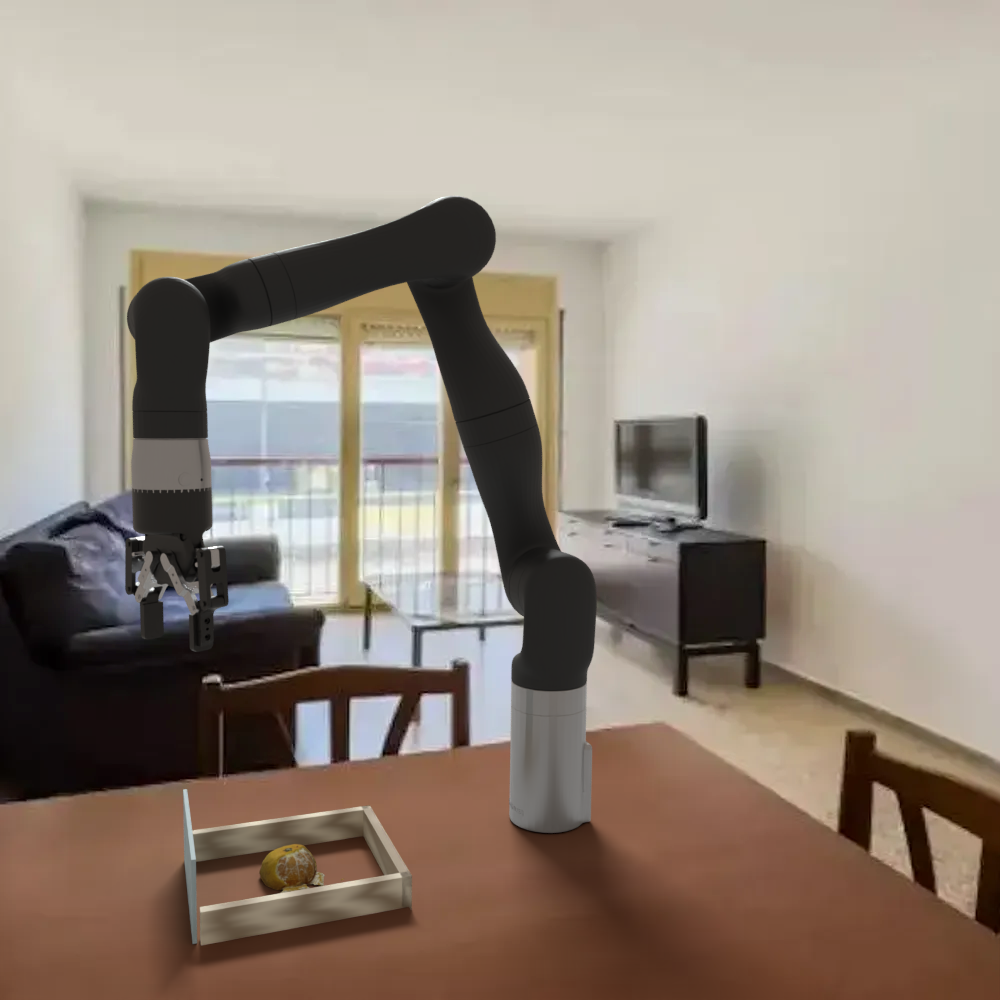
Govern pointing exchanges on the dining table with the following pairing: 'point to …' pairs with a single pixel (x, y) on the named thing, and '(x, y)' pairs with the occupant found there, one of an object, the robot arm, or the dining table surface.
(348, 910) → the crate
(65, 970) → the dining table surface
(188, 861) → the panel
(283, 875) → the fruit
